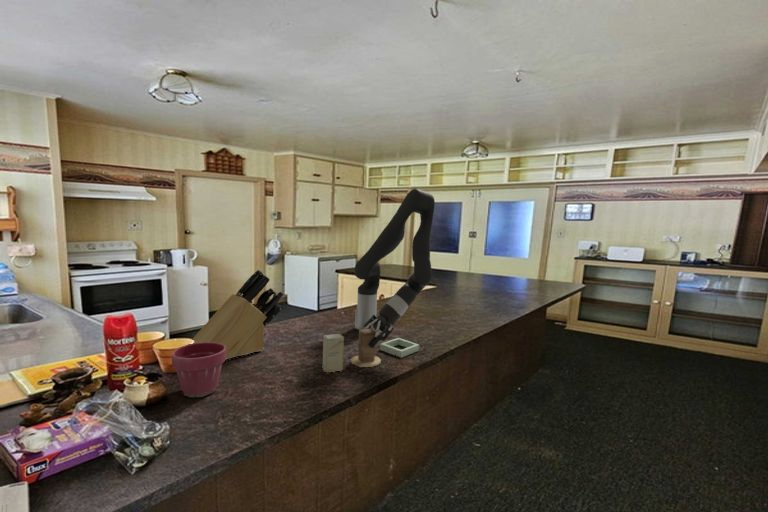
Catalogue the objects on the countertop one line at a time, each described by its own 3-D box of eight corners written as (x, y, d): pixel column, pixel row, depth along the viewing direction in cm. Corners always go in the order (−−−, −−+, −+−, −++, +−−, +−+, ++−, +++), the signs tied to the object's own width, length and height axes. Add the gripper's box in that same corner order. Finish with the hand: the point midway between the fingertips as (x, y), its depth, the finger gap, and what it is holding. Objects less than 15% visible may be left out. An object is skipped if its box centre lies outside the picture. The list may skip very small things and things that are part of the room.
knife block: (285, 346, 148) (286, 270, 145) (191, 371, 123) (190, 279, 119) (271, 339, 156) (271, 267, 152) (180, 360, 130) (178, 274, 127)
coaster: (345, 364, 133) (345, 362, 133) (359, 354, 143) (359, 352, 143) (373, 370, 129) (373, 368, 129) (385, 359, 139) (385, 357, 139)
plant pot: (207, 376, 119) (207, 338, 118) (236, 388, 112) (236, 347, 111) (162, 393, 107) (161, 351, 105) (191, 408, 100) (190, 362, 98)
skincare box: (326, 374, 124) (326, 339, 123) (322, 369, 128) (322, 335, 127) (343, 371, 127) (344, 337, 126) (339, 366, 131) (339, 333, 130)
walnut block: (358, 358, 137) (359, 329, 136) (369, 356, 139) (370, 328, 138) (363, 363, 133) (363, 333, 132) (374, 361, 135) (375, 332, 134)
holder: (380, 349, 149) (380, 343, 148) (398, 343, 157) (398, 337, 157) (401, 357, 141) (401, 351, 141) (419, 350, 149) (419, 344, 149)
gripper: (379, 299, 144) (351, 330, 140) (397, 307, 131) (366, 342, 127) (390, 311, 147) (363, 342, 143) (409, 320, 134) (379, 355, 130)
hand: (364, 342), depth 135 cm, fingers open, 8 cm apart
